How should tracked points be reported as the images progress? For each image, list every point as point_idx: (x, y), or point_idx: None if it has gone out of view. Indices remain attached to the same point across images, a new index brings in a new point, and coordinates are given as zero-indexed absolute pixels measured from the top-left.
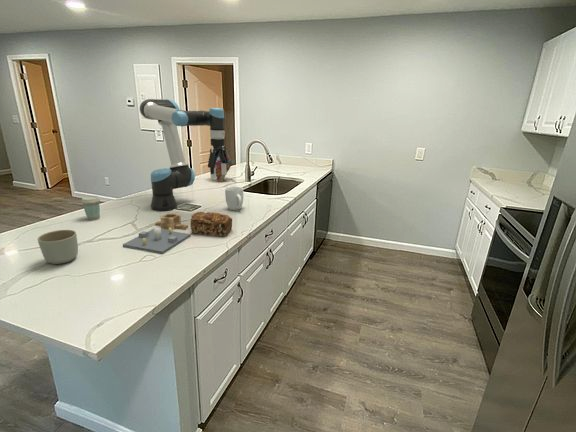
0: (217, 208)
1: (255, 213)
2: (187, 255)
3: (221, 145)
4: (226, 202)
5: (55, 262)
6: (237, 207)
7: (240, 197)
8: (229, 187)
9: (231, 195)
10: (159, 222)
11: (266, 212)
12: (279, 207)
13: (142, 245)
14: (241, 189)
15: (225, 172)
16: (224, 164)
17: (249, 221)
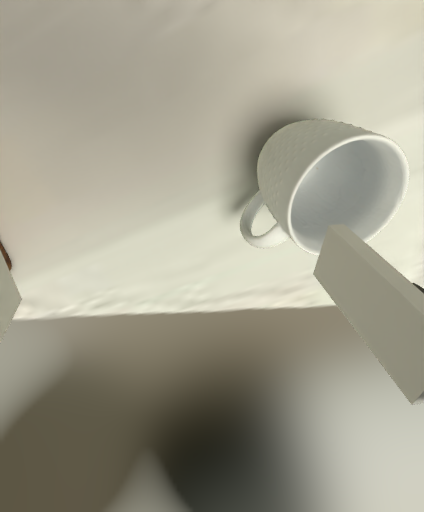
0: (280, 51)
1: (240, 263)
2: None
3: None
4: (285, 129)
5: None
6: (253, 198)
7: (261, 247)
8: (392, 149)
9: (273, 197)
10: None
11: (261, 290)
12: (323, 304)
13: None
14: (364, 228)
15: (330, 289)
16: (410, 377)
17: (142, 279)
